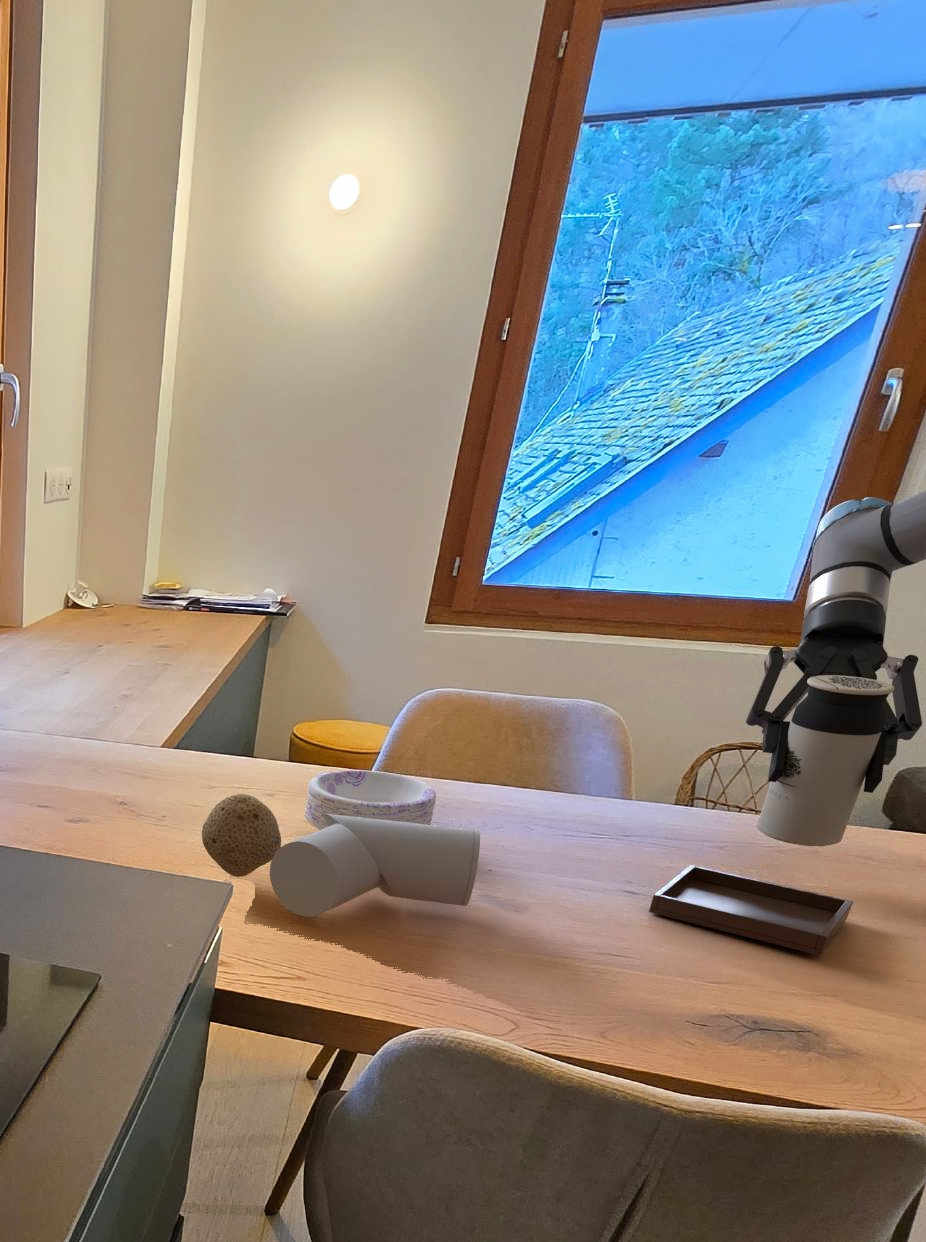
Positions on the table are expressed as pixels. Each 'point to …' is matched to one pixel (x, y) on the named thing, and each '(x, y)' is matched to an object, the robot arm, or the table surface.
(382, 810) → the paper bowls
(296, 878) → the l-shaped cylinder
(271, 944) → the table surface
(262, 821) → the natural sponge
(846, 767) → the travel mug
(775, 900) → the tray
